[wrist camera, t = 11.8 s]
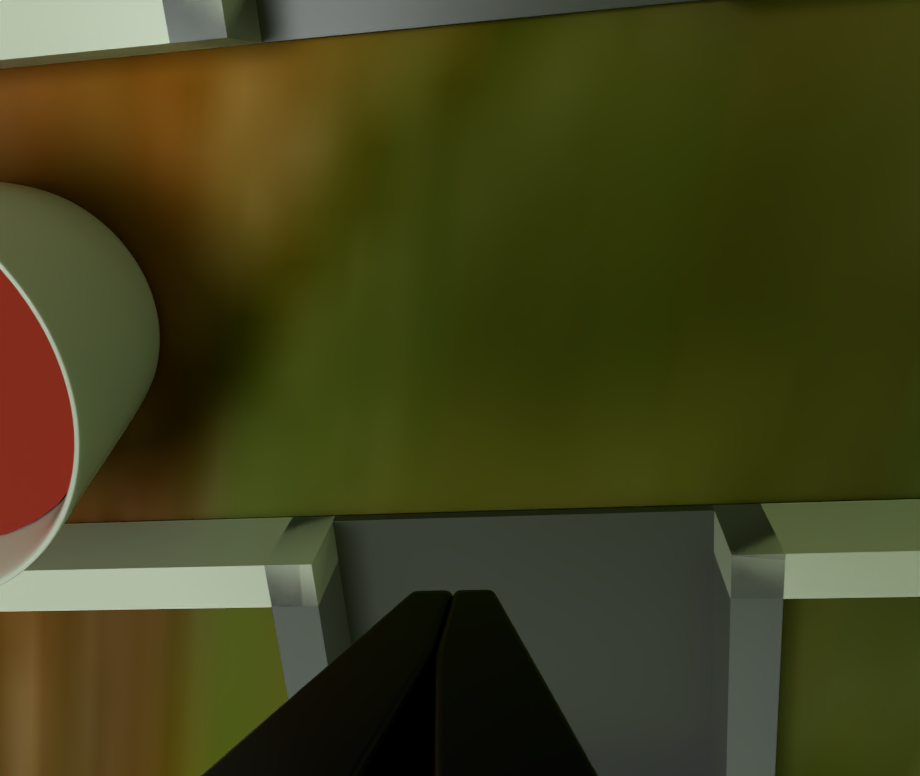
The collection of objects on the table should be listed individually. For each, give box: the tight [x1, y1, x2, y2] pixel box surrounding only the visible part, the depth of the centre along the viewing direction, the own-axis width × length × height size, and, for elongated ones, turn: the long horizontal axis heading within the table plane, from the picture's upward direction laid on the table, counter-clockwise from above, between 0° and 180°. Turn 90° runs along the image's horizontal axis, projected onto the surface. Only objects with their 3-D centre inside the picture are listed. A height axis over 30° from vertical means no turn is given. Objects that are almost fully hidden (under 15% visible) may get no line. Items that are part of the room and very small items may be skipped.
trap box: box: [0, 0, 920, 776], centre depth 19 cm, size 34×32×5 cm
